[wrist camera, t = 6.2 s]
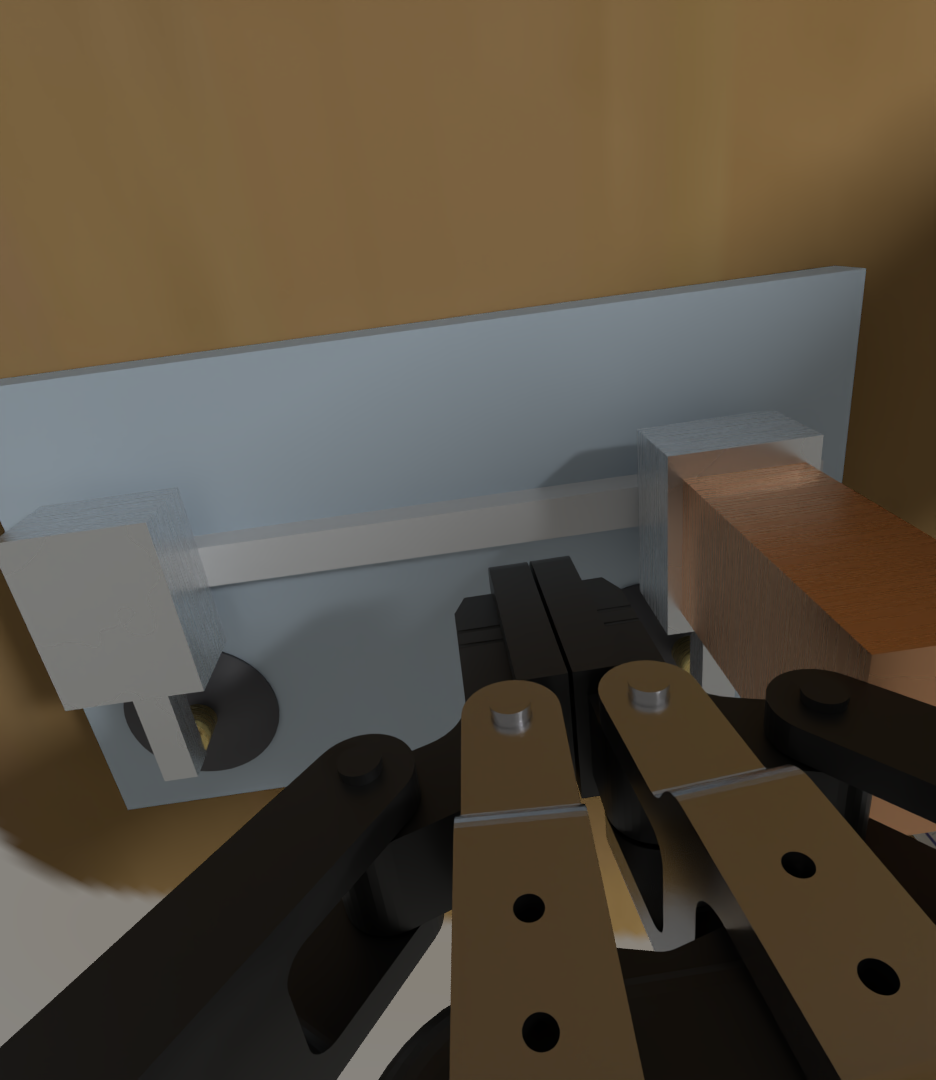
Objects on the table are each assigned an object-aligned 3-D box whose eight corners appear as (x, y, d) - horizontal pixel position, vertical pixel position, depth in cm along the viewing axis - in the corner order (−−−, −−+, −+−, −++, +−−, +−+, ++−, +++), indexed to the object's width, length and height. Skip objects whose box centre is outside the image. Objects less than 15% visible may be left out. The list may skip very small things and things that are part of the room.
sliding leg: (757, 401, 16) (1117, 582, 8) (742, 656, 19) (992, 981, 11) (625, 419, 16) (851, 620, 8) (632, 672, 18) (800, 1010, 10)
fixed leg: (184, 479, 16) (145, 522, 13) (260, 723, 18) (239, 793, 16) (51, 497, 15) (-11, 544, 13) (148, 739, 18) (111, 811, 16)
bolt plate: (834, 266, 16) (889, 270, 14) (795, 684, 21) (831, 727, 19) (-24, 382, 16) (-81, 402, 14) (142, 779, 21) (117, 831, 19)
